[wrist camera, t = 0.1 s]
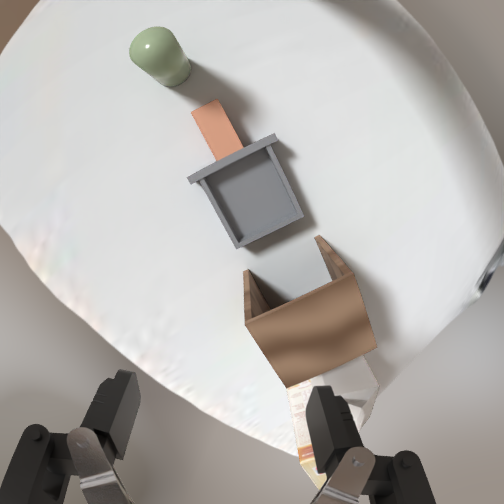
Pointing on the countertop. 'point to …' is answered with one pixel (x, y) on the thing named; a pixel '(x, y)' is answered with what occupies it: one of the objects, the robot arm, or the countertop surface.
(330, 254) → the cabinet
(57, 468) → the robot arm
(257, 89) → the countertop surface
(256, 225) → the tray
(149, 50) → the jar
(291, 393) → the coffeecake box
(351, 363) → the milk carton
